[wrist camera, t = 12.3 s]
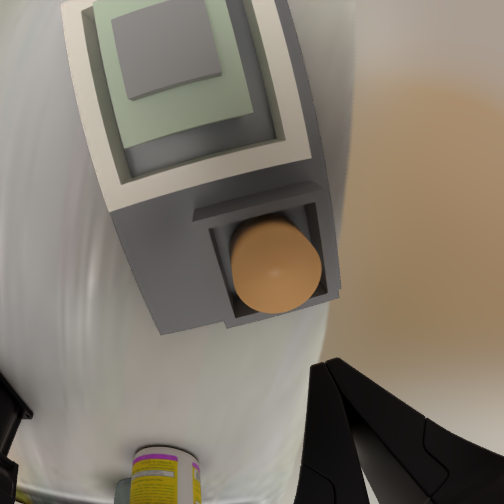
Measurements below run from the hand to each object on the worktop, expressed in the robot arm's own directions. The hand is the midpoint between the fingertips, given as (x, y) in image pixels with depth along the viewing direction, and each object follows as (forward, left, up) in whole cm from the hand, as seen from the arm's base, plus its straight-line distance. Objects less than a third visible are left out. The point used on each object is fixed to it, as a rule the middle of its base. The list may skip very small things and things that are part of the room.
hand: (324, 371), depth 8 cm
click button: (0, 0, -9) cm, 9 cm away
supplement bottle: (-20, +14, -10) cm, 27 cm away
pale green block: (+10, +2, -10) cm, 14 cm away
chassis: (+6, +2, -10) cm, 12 cm away
